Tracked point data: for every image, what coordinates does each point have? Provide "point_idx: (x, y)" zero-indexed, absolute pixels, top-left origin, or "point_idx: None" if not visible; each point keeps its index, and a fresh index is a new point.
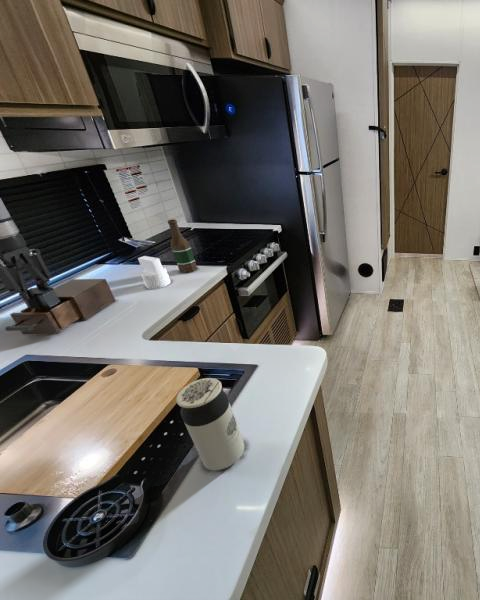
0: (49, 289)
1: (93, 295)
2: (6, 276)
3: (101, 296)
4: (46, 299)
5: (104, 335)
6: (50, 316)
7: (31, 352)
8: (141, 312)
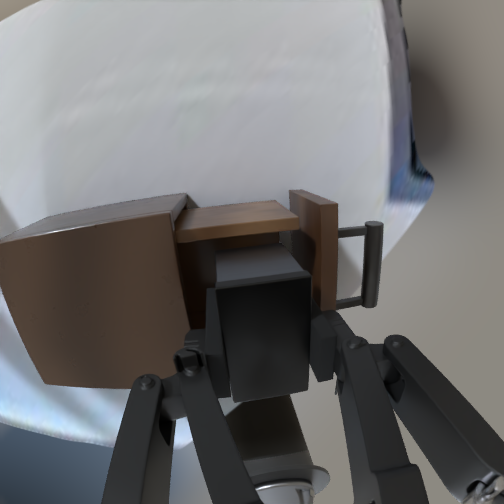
0: (245, 283)
1: (83, 218)
2: (476, 413)
3: (64, 218)
4: (287, 259)
5: (284, 39)
6: (319, 200)
7: (379, 196)
8: (121, 35)
